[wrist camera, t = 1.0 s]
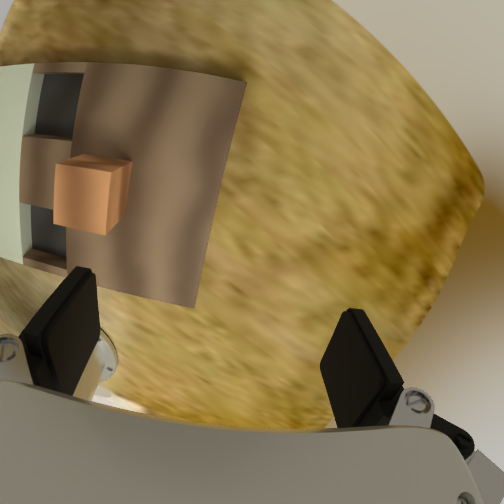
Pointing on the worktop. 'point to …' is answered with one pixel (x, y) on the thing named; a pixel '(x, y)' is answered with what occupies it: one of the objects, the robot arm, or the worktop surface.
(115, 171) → the block
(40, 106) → the track
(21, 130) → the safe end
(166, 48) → the worktop surface
